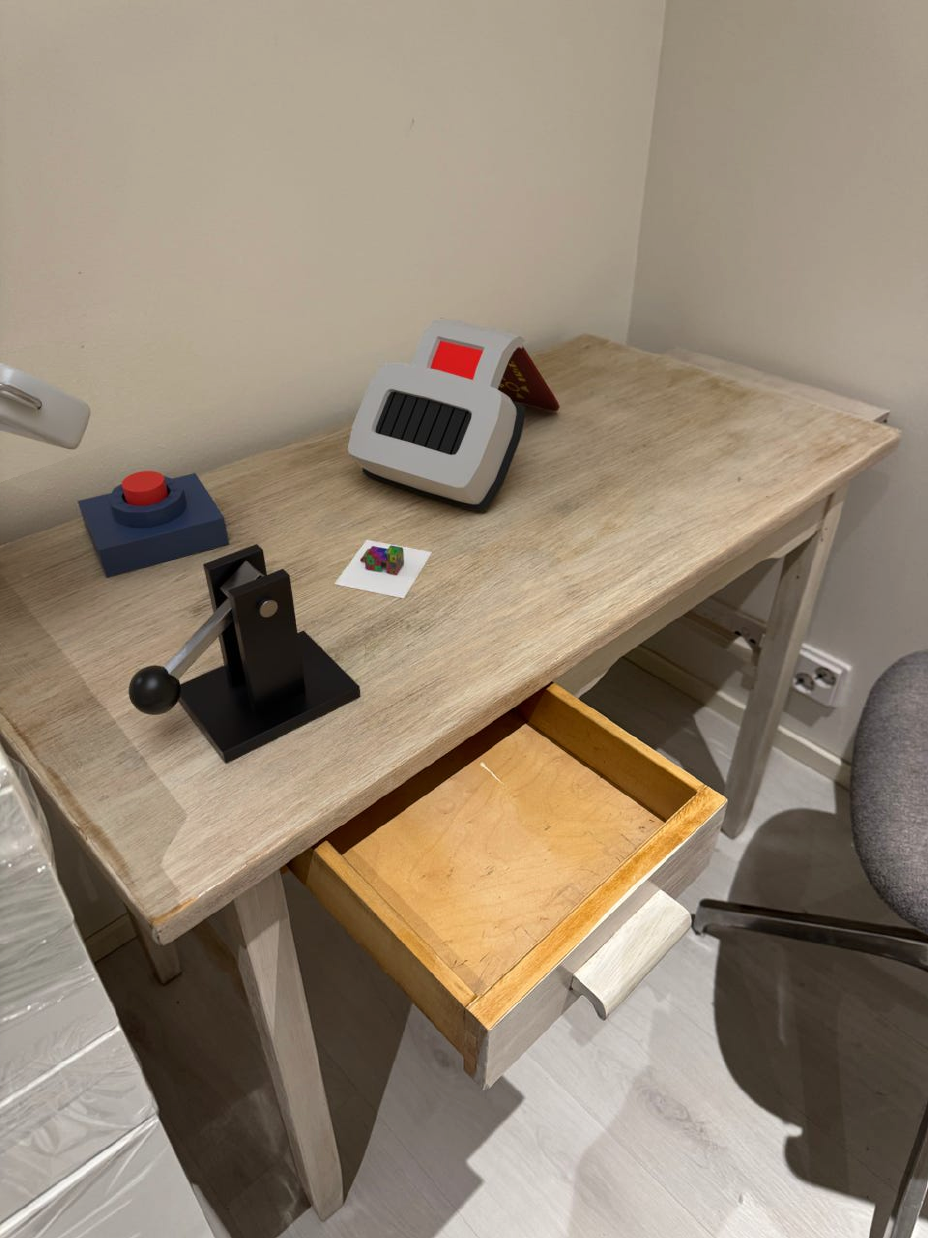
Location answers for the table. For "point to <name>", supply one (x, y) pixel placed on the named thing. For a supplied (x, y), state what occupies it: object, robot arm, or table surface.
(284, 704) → the switch bracket
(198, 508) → the stop box
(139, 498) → the stop button
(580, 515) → the table surface
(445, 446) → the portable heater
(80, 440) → the robot arm
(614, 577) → the table surface
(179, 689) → the lever
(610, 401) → the table surface
